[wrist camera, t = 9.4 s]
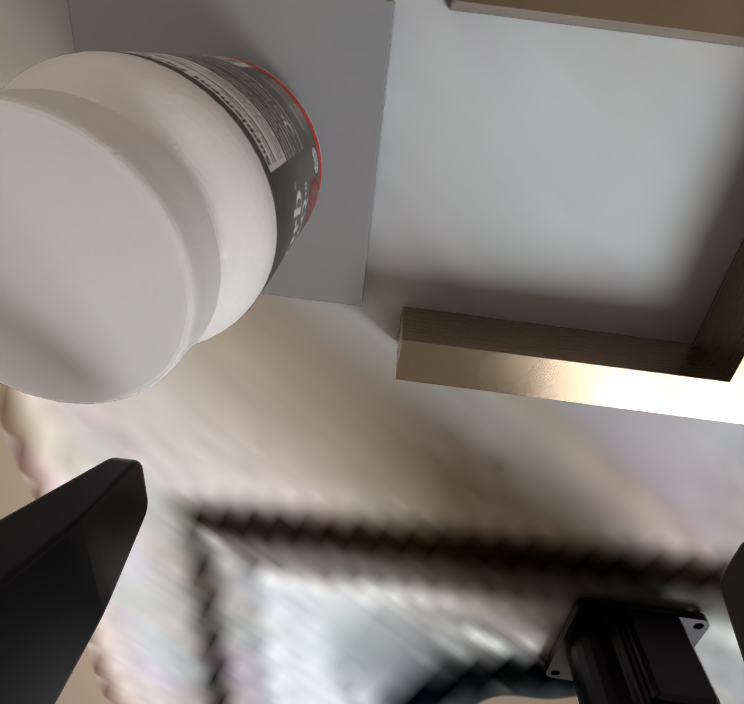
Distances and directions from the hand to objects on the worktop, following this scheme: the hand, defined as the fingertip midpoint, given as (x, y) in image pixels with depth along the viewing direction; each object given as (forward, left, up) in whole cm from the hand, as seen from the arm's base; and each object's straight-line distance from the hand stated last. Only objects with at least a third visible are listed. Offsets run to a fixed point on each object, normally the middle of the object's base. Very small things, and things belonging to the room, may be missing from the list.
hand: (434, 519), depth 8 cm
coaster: (+3, +6, -11) cm, 13 cm away
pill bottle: (+3, +6, -11) cm, 13 cm away
